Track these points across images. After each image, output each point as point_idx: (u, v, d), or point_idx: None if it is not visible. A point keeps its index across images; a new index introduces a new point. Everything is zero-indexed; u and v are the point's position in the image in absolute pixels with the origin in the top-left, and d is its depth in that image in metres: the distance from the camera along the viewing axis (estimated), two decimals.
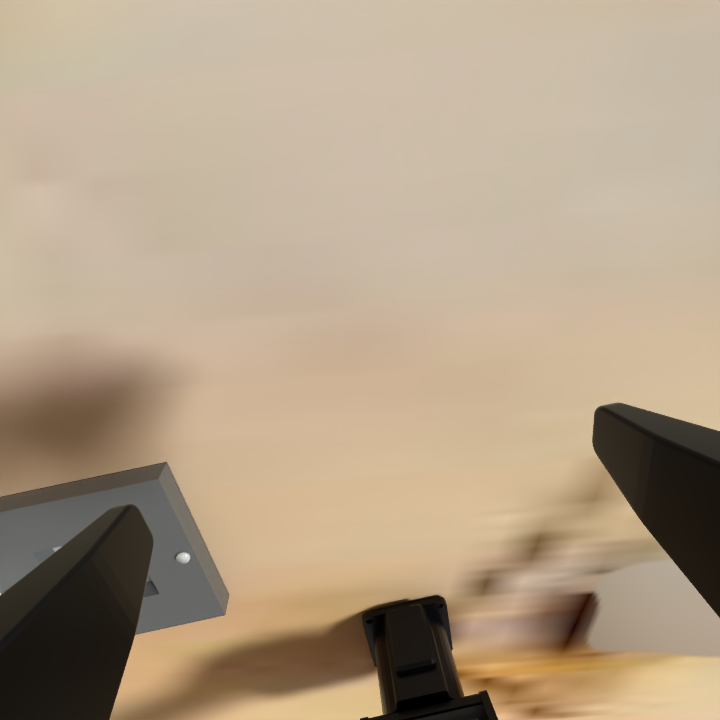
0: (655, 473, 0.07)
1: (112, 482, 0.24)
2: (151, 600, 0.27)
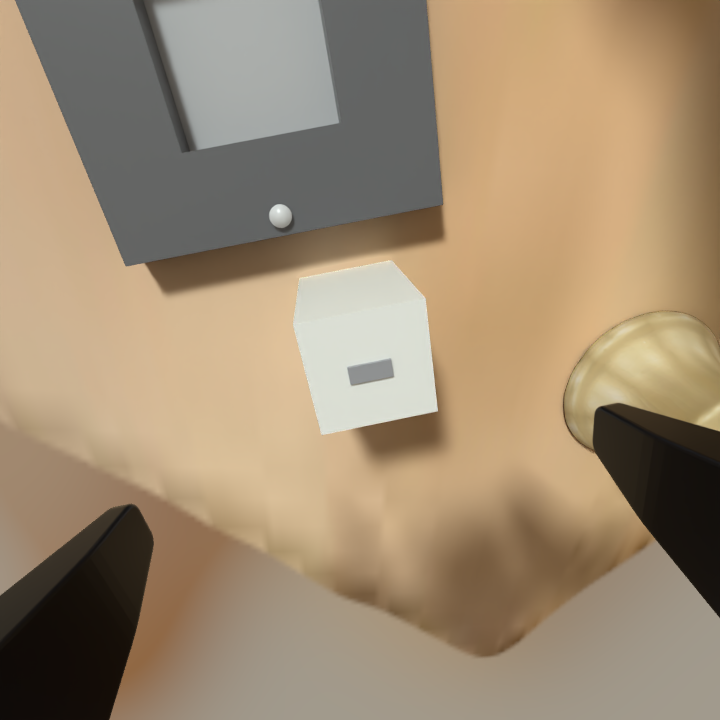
0: (655, 473, 0.07)
1: None
2: None
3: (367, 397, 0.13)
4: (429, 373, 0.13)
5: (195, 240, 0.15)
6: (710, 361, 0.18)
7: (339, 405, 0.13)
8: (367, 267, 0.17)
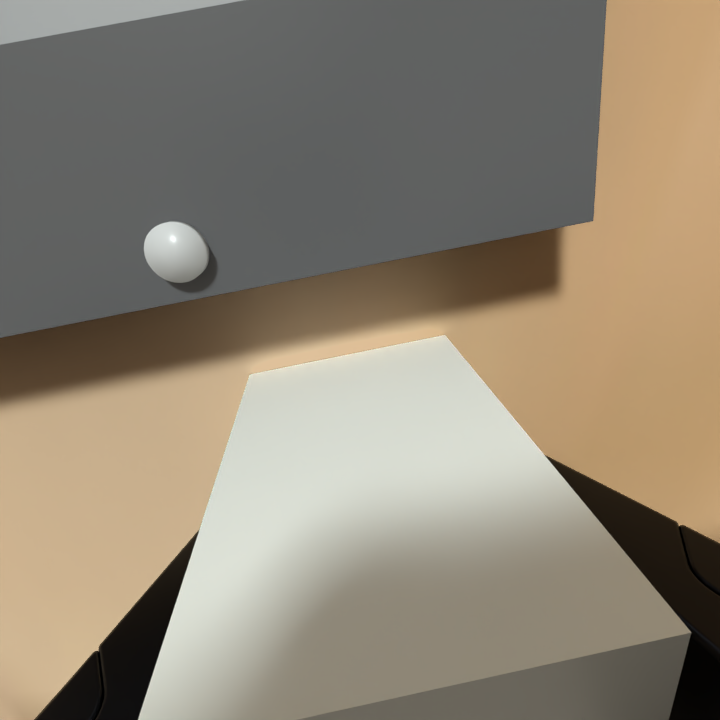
0: None
1: None
2: None
3: None
4: None
5: None
6: None
7: None
8: (396, 356, 0.08)
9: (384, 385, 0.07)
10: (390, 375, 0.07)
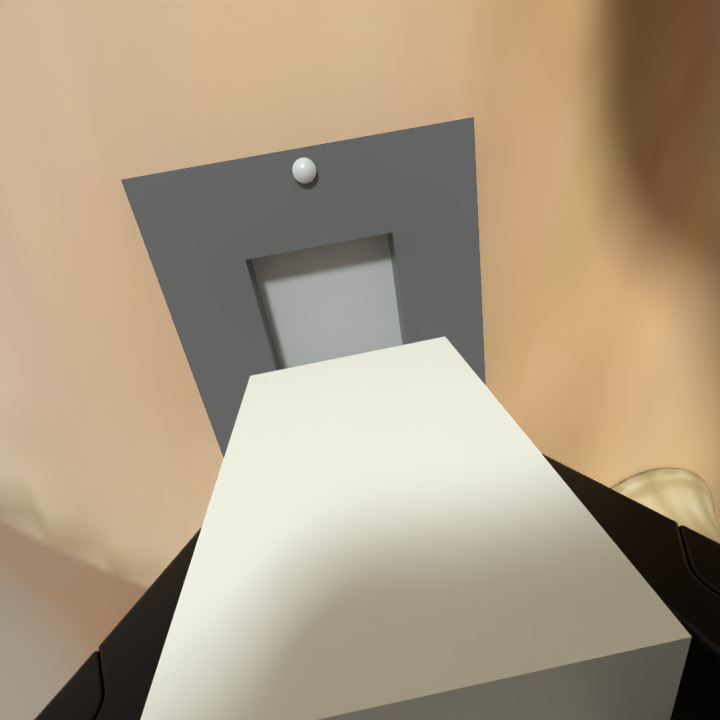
0: None
1: None
2: (405, 249, 0.16)
3: None
4: None
5: None
6: (704, 521, 0.22)
7: None
8: (396, 358, 0.08)
9: (384, 387, 0.07)
10: (390, 377, 0.07)
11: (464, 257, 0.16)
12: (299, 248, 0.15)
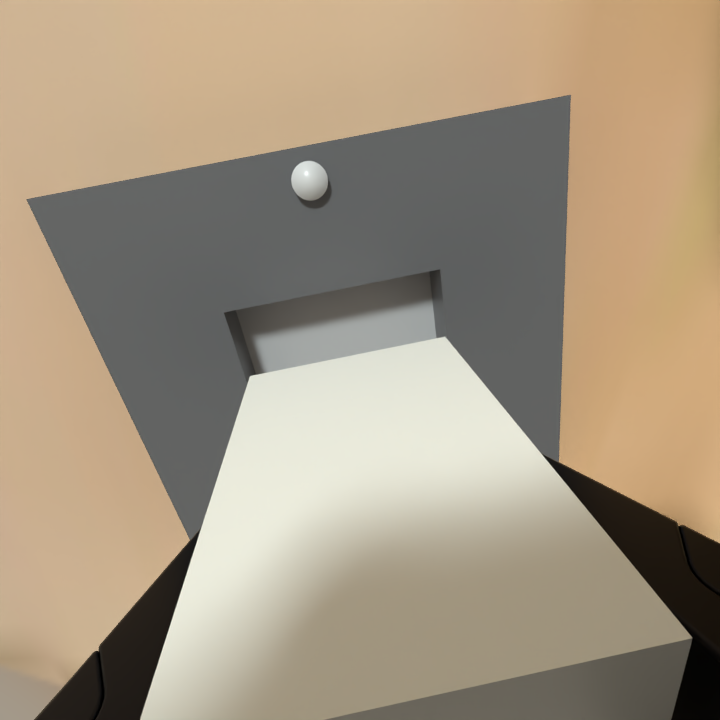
0: None
1: None
2: (457, 292, 0.11)
3: None
4: None
5: None
6: None
7: None
8: (396, 358, 0.08)
9: (384, 387, 0.07)
10: (390, 377, 0.07)
11: (542, 302, 0.11)
12: (303, 294, 0.10)
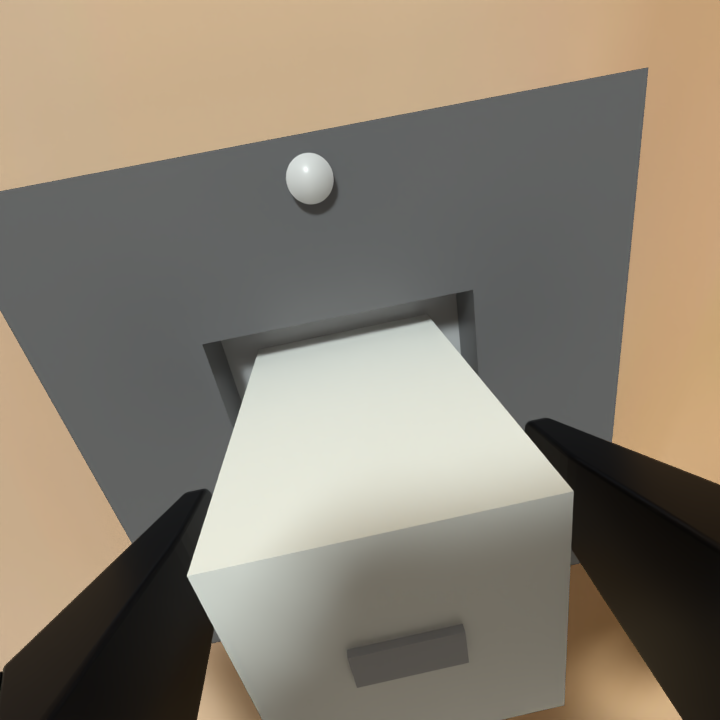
0: None
1: None
2: (493, 318, 0.09)
3: (400, 698, 0.05)
4: (556, 644, 0.05)
5: None
6: None
7: (329, 718, 0.05)
8: (384, 331, 0.09)
9: (373, 353, 0.08)
10: (378, 345, 0.09)
11: (596, 328, 0.09)
12: (301, 322, 0.08)
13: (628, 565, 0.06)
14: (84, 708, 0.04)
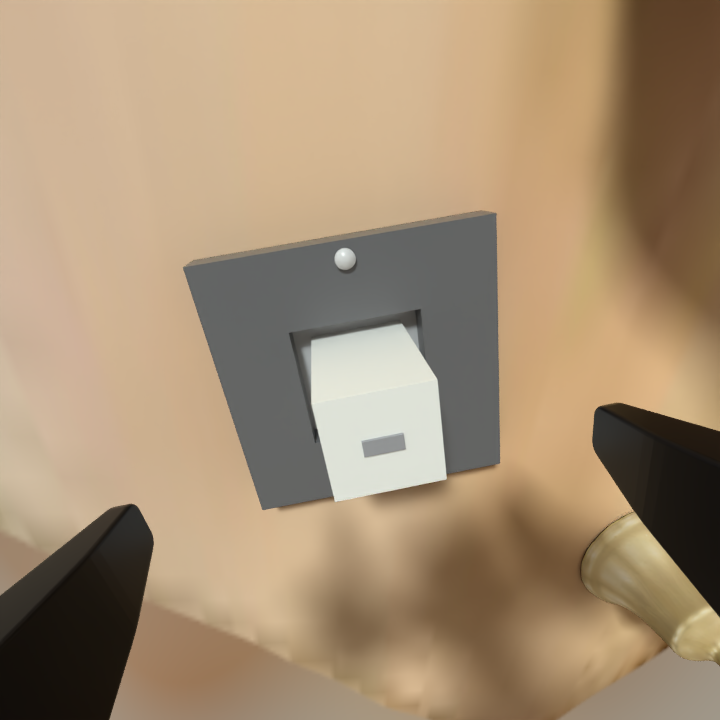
0: (655, 473, 0.07)
1: None
2: (431, 322, 0.17)
3: (380, 467, 0.14)
4: (439, 445, 0.14)
5: (316, 492, 0.20)
6: None
7: (353, 475, 0.14)
8: (377, 328, 0.18)
9: (371, 338, 0.17)
10: (374, 335, 0.17)
11: (484, 329, 0.18)
12: (337, 322, 0.17)
13: None
14: None
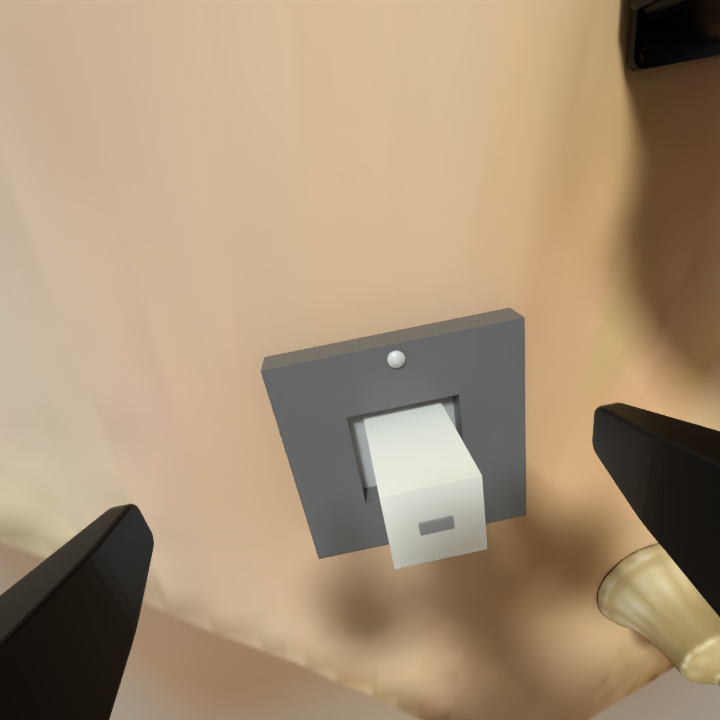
0: (655, 473, 0.07)
1: None
2: (467, 404, 0.20)
3: (433, 542, 0.17)
4: (482, 524, 0.17)
5: (365, 543, 0.23)
6: None
7: (410, 548, 0.17)
8: (420, 408, 0.21)
9: (417, 421, 0.20)
10: (419, 417, 0.20)
11: (513, 408, 0.20)
12: (387, 408, 0.20)
13: None
14: None
